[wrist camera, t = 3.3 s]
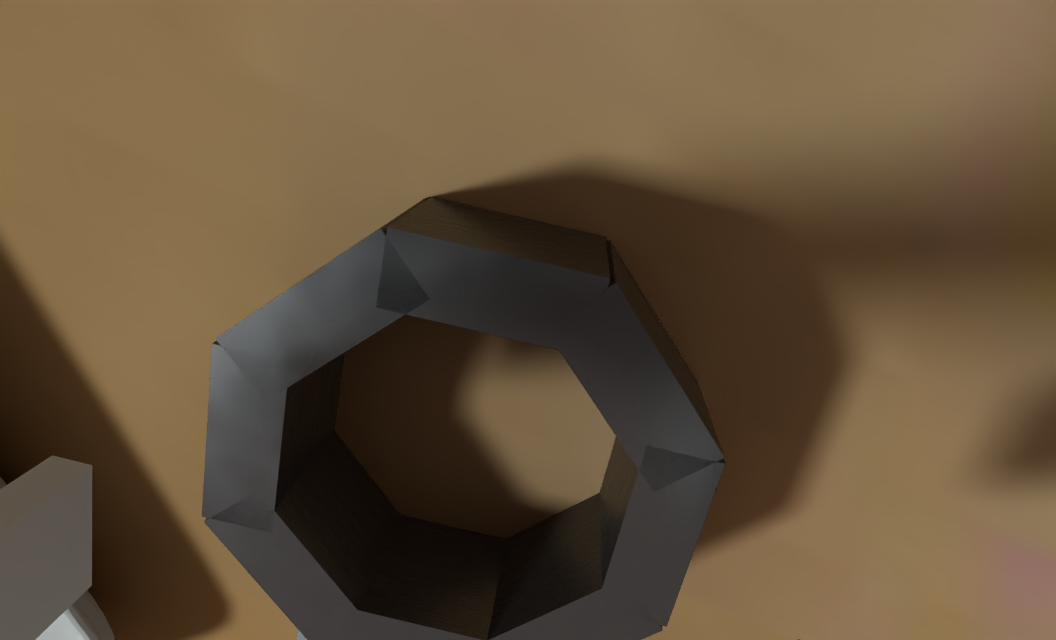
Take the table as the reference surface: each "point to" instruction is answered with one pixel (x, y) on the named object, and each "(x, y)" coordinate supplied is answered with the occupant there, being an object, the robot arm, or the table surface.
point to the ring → (429, 548)
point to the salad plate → (78, 619)
